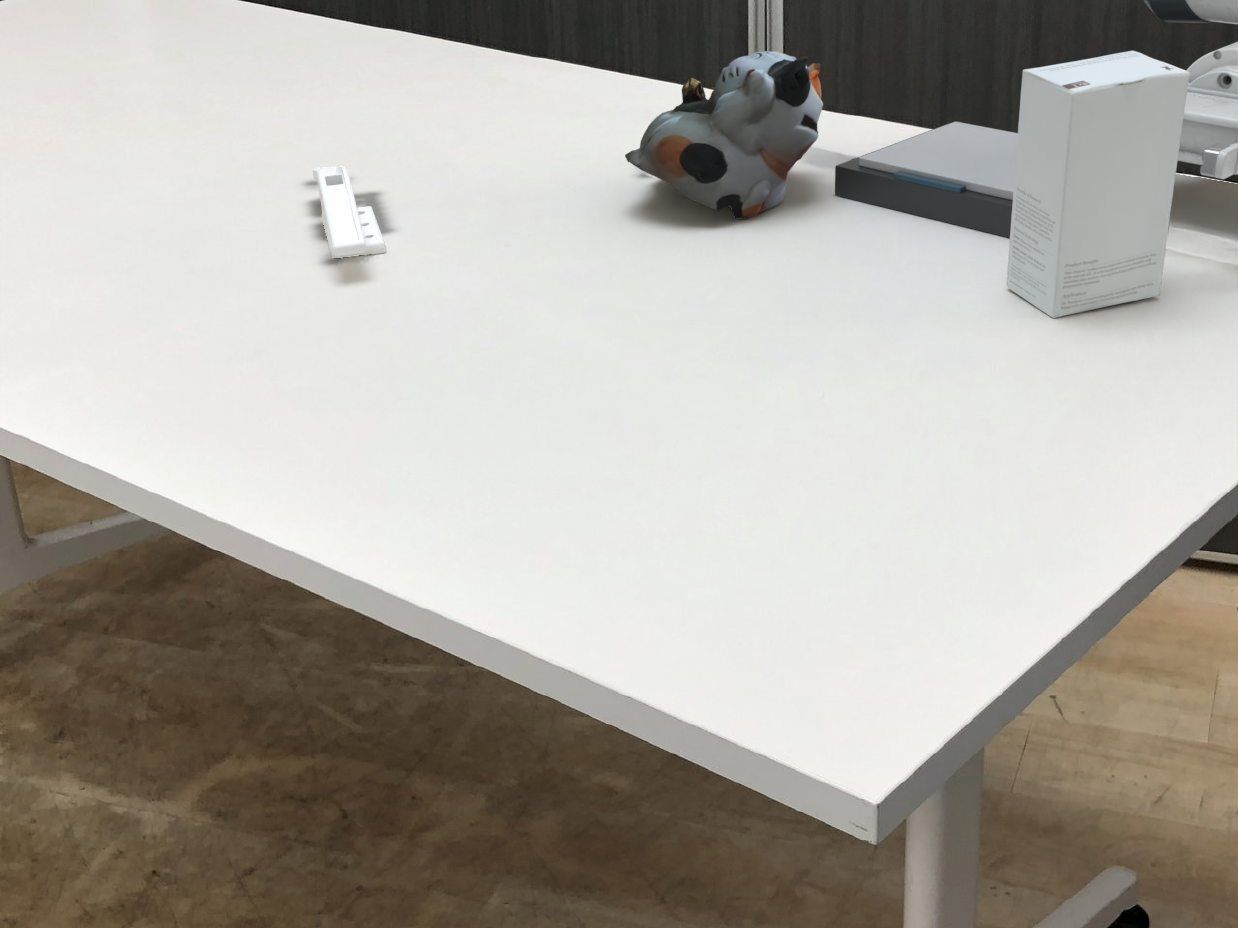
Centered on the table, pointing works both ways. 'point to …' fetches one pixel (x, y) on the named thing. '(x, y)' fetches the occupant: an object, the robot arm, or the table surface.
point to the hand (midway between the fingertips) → (1142, 152)
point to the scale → (940, 176)
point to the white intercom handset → (346, 216)
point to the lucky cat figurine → (737, 134)
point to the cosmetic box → (1094, 181)
